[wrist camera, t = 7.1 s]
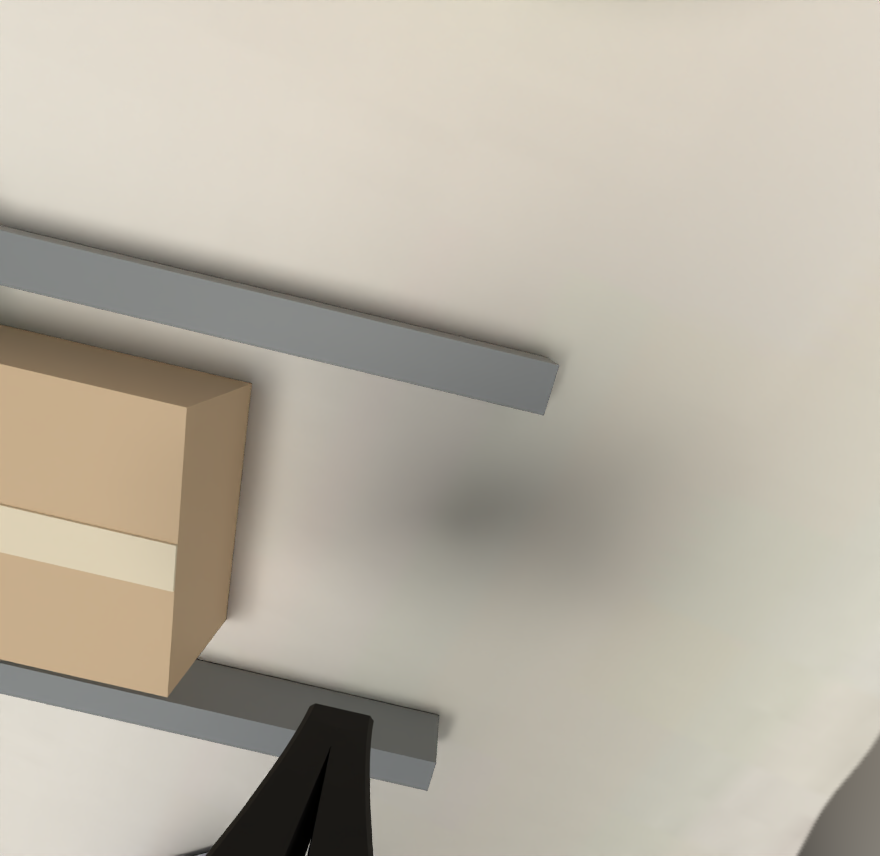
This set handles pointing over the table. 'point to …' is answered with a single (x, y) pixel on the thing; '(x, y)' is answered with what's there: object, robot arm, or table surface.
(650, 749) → the table surface
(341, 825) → the robot arm
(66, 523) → the carton
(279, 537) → the table surface
